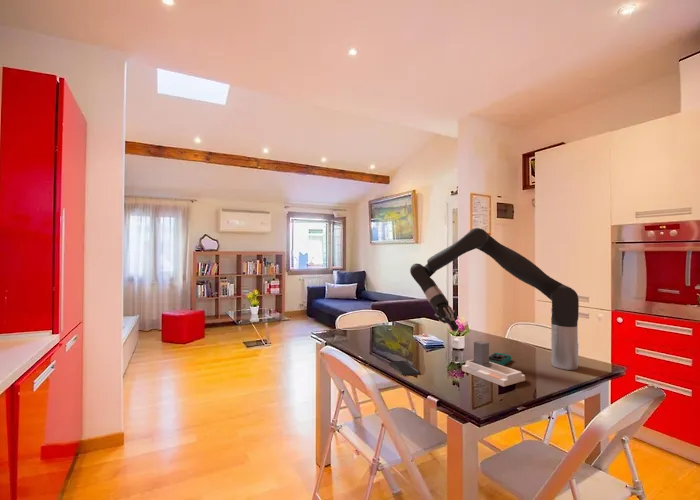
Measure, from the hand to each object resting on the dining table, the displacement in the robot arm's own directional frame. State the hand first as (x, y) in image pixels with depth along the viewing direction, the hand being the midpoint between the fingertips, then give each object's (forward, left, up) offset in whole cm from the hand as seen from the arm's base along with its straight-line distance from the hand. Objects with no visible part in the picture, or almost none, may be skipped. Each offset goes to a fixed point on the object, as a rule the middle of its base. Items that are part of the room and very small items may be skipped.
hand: (456, 329), depth 147 cm
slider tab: (0, +13, -11) cm, 18 cm away
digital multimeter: (-15, +9, -14) cm, 23 cm away
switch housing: (0, +18, -14) cm, 23 cm away
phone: (+25, -4, -14) cm, 29 cm away
